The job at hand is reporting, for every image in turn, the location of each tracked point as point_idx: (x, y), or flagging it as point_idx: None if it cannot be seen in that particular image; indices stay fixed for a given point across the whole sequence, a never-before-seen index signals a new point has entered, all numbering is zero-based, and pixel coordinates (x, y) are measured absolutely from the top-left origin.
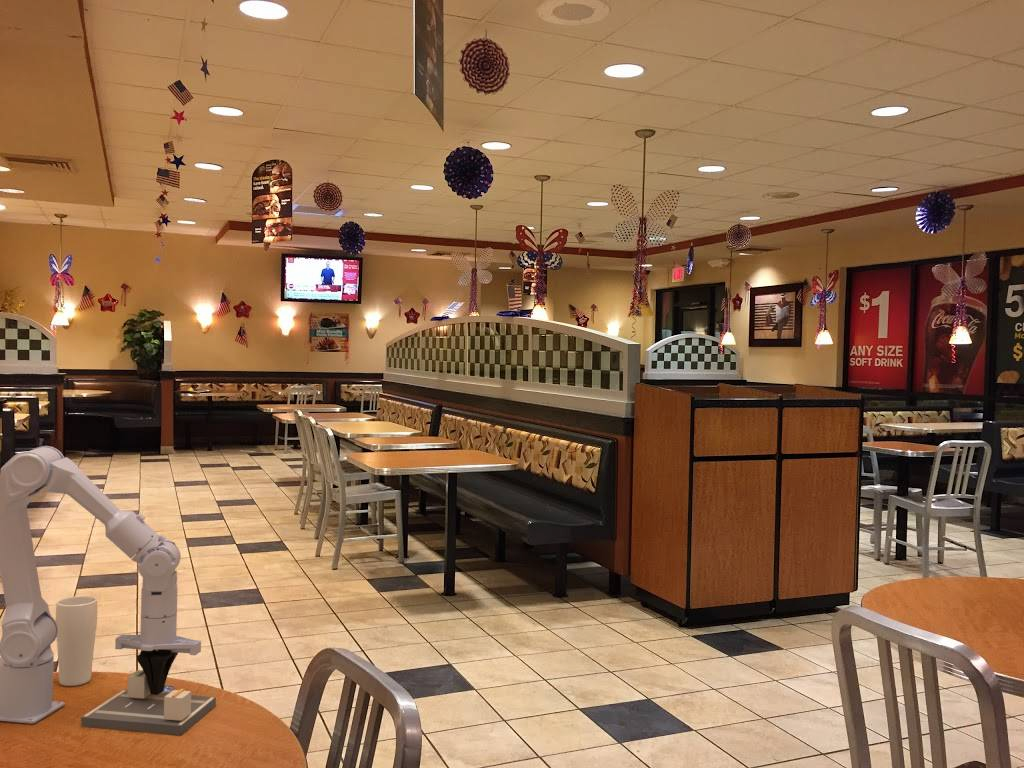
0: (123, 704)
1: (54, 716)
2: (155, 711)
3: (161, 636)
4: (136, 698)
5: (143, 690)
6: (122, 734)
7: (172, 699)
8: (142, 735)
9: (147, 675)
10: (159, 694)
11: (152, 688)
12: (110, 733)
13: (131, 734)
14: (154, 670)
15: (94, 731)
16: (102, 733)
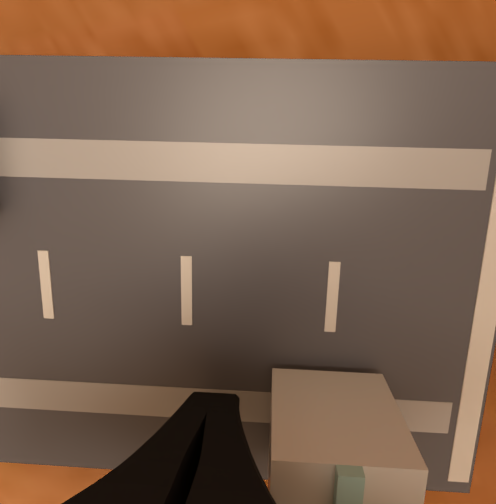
0: (365, 297)
1: None
2: (122, 229)
3: None
4: None
5: (276, 396)
6: (215, 15)
7: None
8: (99, 25)
9: (236, 468)
10: None
11: (212, 409)
12: (289, 14)
13: (165, 25)
14: (146, 498)
15: (396, 23)
16: (335, 5)
